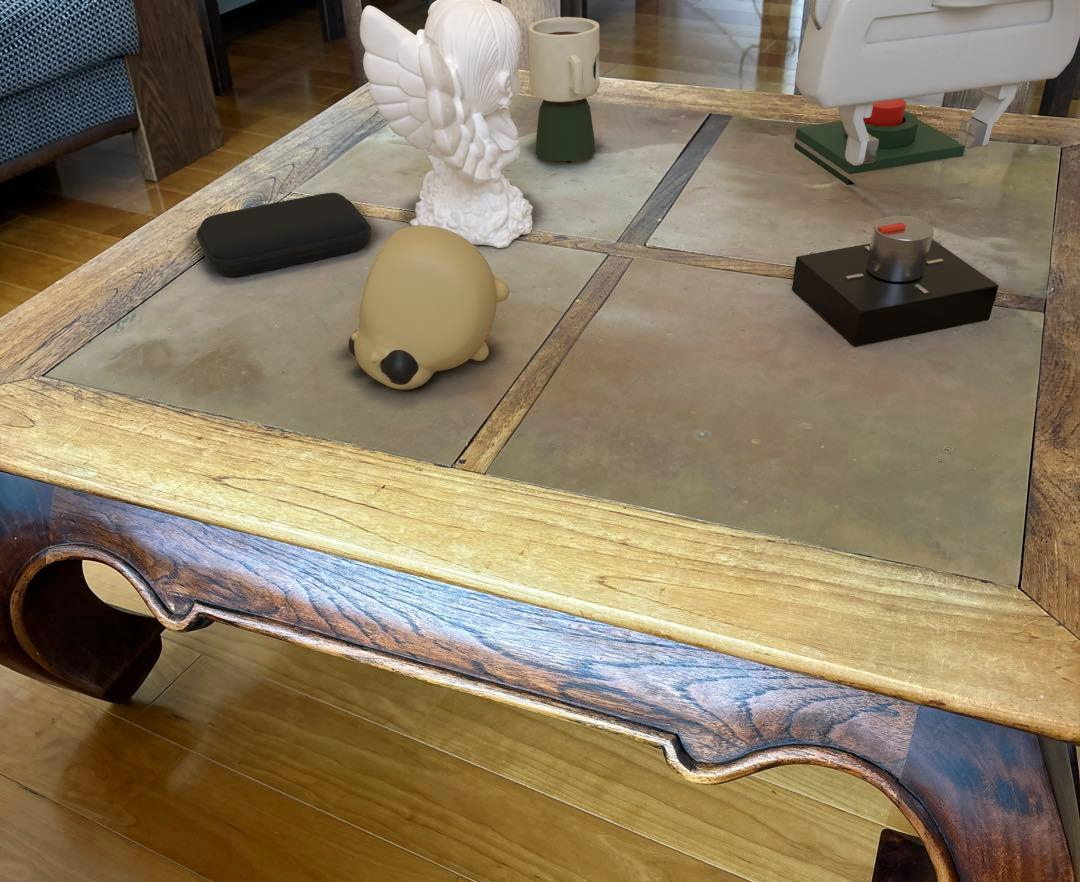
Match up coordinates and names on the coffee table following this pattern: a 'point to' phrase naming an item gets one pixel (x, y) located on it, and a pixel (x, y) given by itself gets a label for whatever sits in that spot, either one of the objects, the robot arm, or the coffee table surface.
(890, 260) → the dimmer knob
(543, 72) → the character mug
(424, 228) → the tan pug toy
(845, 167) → the lamp switch
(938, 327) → the dimmer panel
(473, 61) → the cherub figurine
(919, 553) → the coffee table surface
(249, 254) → the carrying case
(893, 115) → the light button
